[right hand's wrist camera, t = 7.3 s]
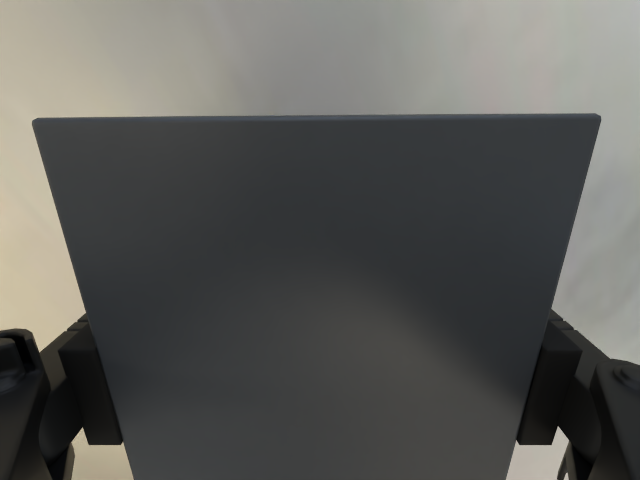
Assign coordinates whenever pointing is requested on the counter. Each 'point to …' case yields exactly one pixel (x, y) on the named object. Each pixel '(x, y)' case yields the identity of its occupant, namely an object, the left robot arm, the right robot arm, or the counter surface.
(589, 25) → the counter surface
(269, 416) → the wide beam
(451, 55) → the counter surface
